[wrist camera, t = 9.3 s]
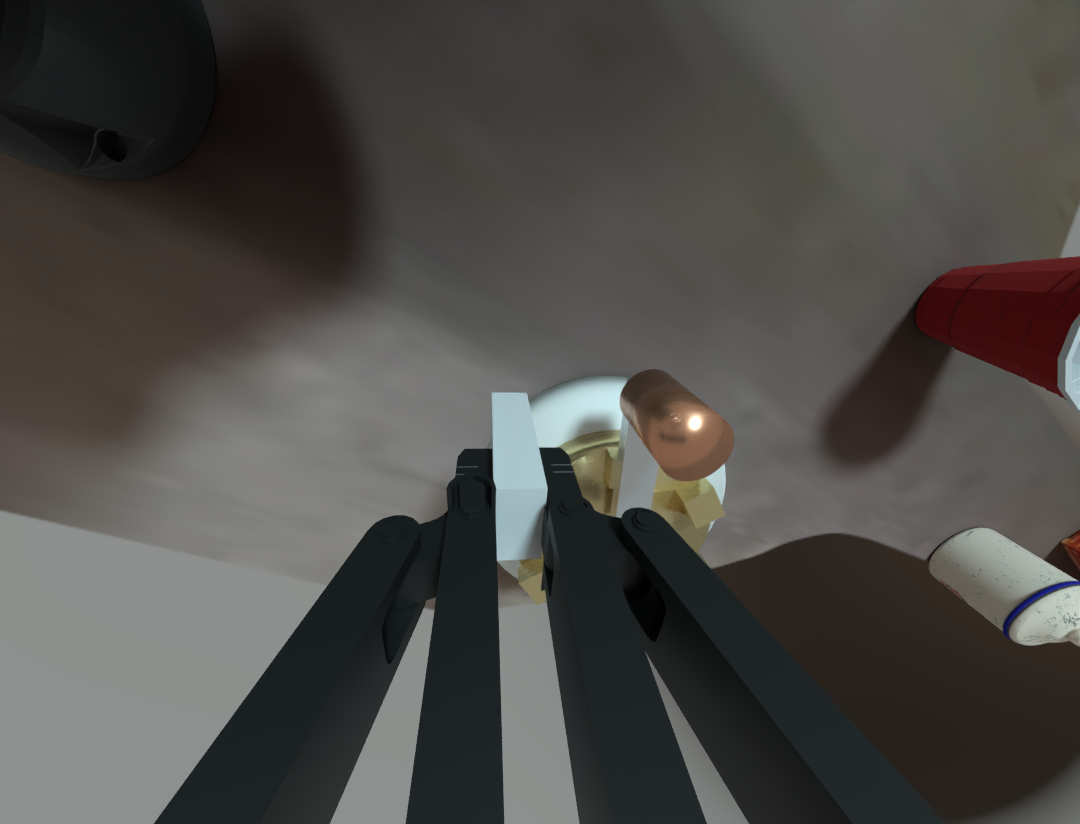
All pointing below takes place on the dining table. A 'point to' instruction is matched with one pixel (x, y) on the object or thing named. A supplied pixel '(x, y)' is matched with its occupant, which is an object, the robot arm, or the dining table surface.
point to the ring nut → (650, 463)
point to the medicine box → (1073, 547)
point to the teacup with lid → (1010, 587)
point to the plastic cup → (1012, 319)
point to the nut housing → (584, 421)
